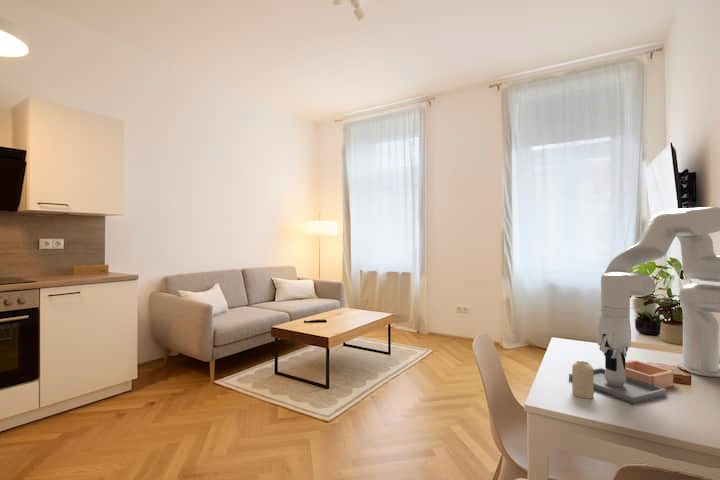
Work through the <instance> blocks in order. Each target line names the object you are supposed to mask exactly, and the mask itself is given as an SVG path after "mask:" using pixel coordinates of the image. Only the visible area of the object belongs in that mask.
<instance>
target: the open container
mask: <svg viewBox="0 0 720 480" xmlns="http://www.w3.org/2000/svg"><path fill="white" fill-rule="evenodd" d="M624 371H625V375H626V376H627V377H630V378H633V379H636V380H639V381H642V382H645V383H648V384H652V385H655V386H658V387H661V388H664V389H667V388H670V387H673V386H674V370H672V369H668V368H664V367H661V366H658V365H654V364H650V363H647V362H644V361H639V360H636V359H635V360H632V359H631V360H625V369H624Z"/></svg>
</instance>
